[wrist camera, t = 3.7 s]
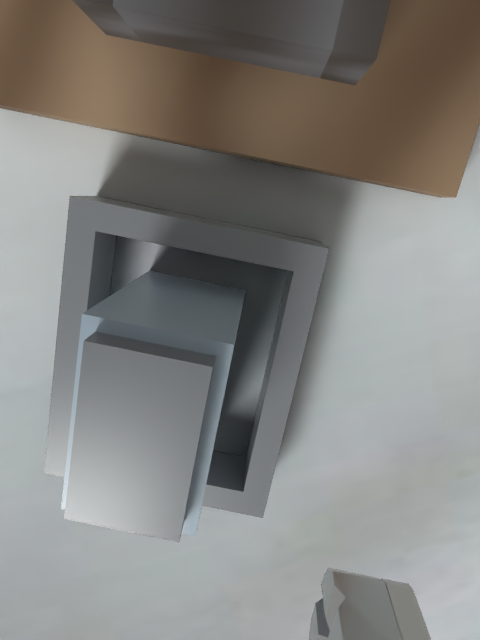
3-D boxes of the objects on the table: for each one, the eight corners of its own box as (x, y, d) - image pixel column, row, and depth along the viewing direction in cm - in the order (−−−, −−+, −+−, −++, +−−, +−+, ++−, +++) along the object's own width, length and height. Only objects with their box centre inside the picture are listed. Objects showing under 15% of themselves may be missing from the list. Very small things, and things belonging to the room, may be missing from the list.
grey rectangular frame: (69, 441, 21) (44, 473, 19) (95, 196, 18) (69, 196, 16) (263, 481, 21) (262, 518, 19) (320, 242, 18) (329, 248, 16)
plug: (130, 402, 20) (48, 527, 13) (149, 270, 19) (69, 322, 11) (219, 420, 20) (191, 556, 13) (245, 290, 19) (231, 355, 11)
